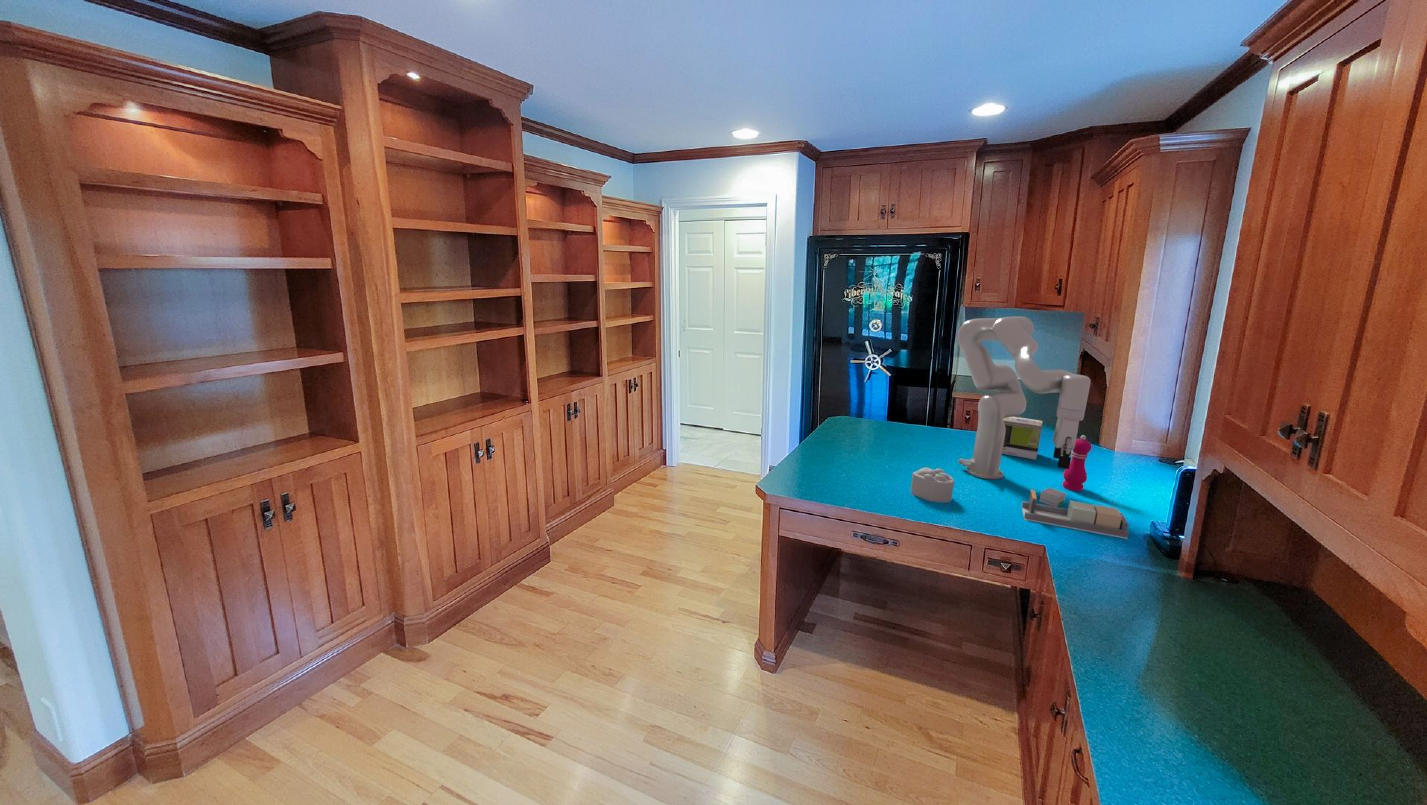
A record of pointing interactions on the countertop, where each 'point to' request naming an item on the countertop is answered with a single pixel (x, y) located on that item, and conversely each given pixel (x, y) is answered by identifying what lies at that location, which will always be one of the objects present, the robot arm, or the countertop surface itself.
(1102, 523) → the kraft box
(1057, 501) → the small box
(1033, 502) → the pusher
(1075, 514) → the sage box
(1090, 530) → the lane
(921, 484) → the lumpy-topped squat cylinder
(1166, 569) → the countertop surface
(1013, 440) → the tea box
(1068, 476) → the pepper mill
